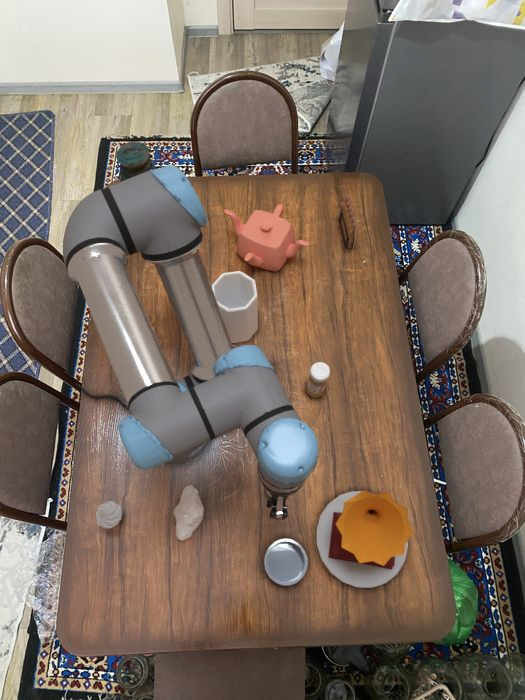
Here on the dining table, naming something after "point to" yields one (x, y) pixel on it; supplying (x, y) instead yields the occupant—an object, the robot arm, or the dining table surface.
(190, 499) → the white rock
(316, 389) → the sprinkles bottle
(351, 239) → the bullet clip
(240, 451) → the dining table surface
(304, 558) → the grey cylinder
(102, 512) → the ice cream cone
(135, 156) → the lantern
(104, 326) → the robot arm
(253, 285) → the cup
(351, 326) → the dining table surface
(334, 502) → the gramophone
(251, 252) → the pot
